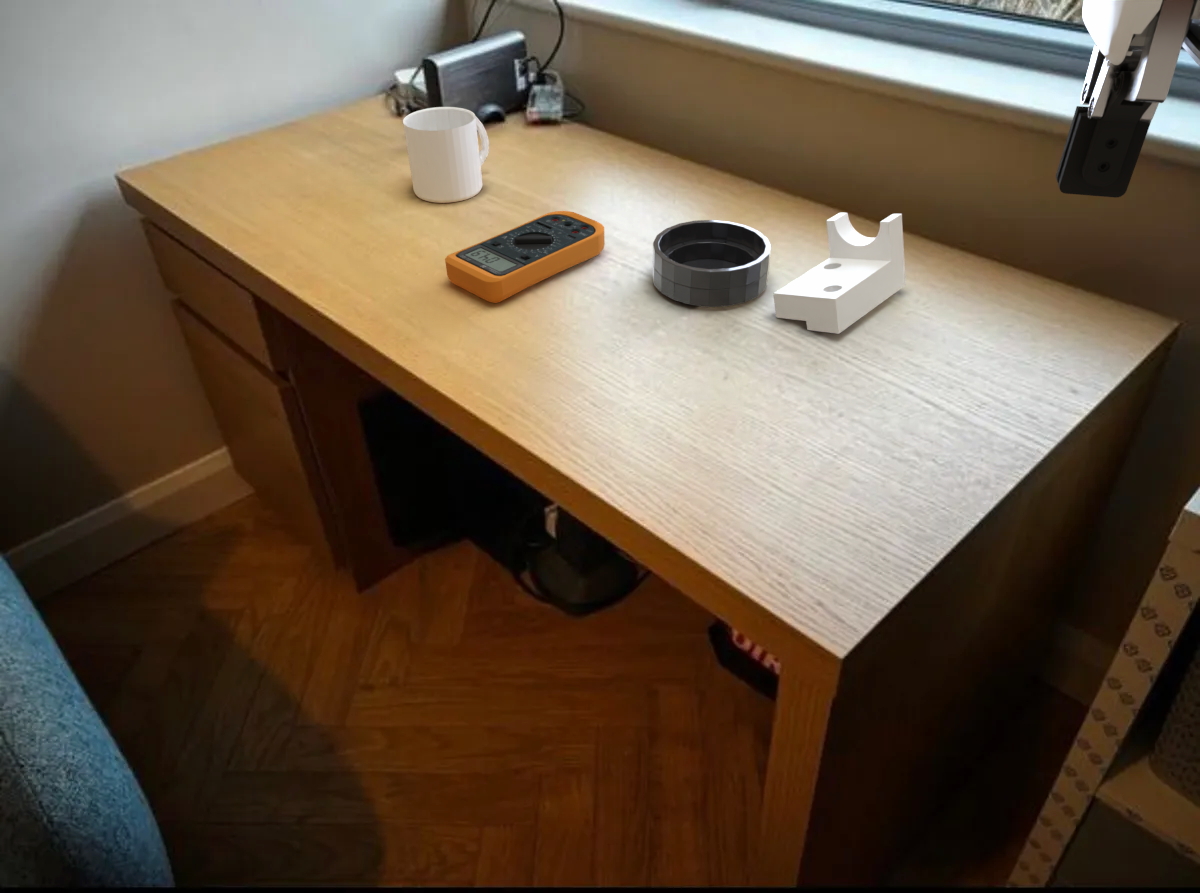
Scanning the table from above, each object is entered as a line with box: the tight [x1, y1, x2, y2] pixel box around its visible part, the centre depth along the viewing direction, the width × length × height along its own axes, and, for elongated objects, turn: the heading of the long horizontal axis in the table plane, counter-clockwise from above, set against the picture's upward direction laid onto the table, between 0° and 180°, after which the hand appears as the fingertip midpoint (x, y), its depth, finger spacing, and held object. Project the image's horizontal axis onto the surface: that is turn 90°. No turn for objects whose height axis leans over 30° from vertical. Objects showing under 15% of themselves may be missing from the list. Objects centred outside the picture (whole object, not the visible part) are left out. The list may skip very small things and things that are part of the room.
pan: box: [651, 219, 772, 308], centre depth 96 cm, size 12×12×4 cm
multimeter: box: [444, 210, 606, 304], centre depth 100 cm, size 9×18×3 cm, turn 136°
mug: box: [402, 106, 490, 204], centre depth 117 cm, size 12×9×9 cm
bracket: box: [773, 212, 907, 335], centre depth 91 cm, size 13×7×8 cm, turn 137°
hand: (1088, 188), depth 48 cm, fingers closed
